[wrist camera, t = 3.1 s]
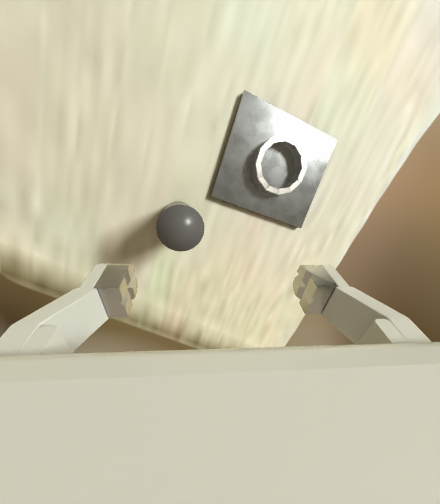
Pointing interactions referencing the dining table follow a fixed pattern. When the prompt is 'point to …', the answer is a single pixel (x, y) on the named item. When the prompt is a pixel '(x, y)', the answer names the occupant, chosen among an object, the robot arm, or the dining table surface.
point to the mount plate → (271, 162)
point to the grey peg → (180, 227)
